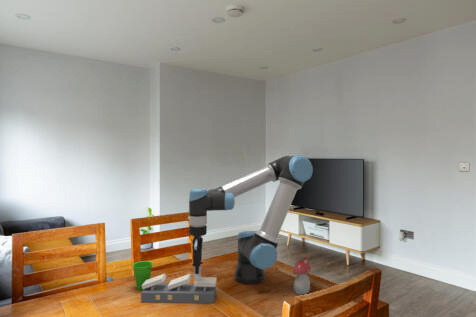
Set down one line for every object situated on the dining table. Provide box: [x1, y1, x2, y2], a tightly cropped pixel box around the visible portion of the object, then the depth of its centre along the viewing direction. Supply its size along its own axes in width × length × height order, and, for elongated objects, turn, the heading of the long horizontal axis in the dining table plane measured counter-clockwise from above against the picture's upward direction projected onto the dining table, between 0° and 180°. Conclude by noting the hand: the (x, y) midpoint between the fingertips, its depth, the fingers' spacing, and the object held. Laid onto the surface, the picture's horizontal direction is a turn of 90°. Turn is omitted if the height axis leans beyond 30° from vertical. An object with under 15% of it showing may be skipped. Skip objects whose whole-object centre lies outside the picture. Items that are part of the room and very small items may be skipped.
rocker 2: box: [168, 273, 192, 290], centre depth 134 cm, size 9×6×2 cm, turn 89°
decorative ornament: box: [292, 256, 312, 296], centre depth 139 cm, size 9×7×15 cm
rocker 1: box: [142, 273, 167, 289], centre depth 134 cm, size 9×6×2 cm, turn 88°
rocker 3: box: [193, 276, 218, 287], centre depth 134 cm, size 9×6×2 cm, turn 89°
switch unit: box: [140, 282, 217, 304], centre depth 134 cm, size 30×10×5 cm, turn 89°
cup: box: [132, 260, 154, 291], centre depth 143 cm, size 9×9×11 cm
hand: (197, 280), depth 134 cm, fingers closed
